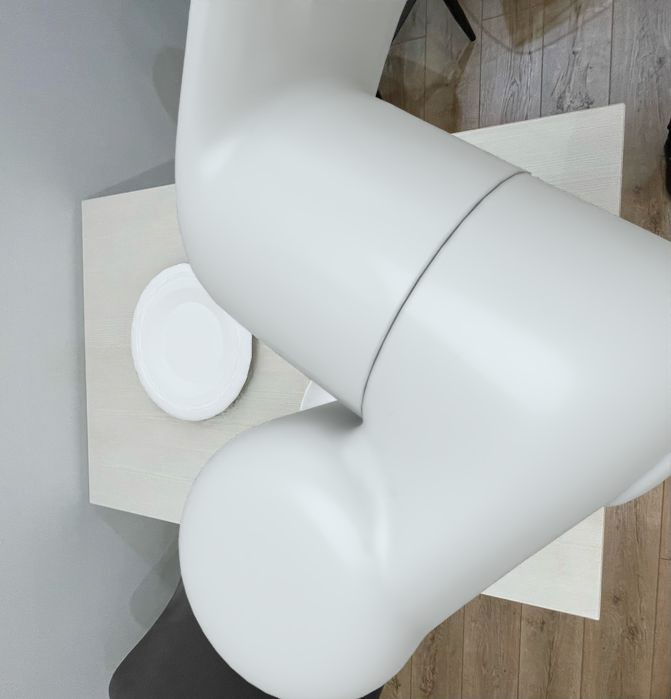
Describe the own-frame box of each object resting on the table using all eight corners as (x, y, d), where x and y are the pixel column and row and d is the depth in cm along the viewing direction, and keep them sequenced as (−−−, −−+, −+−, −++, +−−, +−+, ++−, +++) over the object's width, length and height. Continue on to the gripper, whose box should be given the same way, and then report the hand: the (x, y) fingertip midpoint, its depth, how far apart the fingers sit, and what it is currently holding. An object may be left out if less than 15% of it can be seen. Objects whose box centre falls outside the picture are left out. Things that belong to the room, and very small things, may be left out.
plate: (266, 418, 81) (259, 420, 79) (146, 420, 92) (137, 422, 91) (250, 251, 81) (243, 250, 79) (131, 275, 92) (122, 274, 90)
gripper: (529, 286, 22) (565, 298, 38) (262, 469, 28) (391, 412, 45) (648, 449, 20) (632, 388, 36) (336, 603, 27) (441, 493, 43)
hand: (499, 402), depth 40 cm, fingers closed
